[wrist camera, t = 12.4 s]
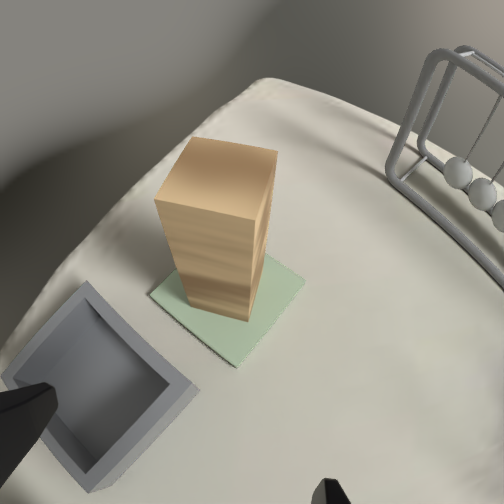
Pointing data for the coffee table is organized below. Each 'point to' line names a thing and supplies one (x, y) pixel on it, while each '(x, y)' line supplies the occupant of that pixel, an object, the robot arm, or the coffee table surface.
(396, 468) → the coffee table surface
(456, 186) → the newton's cradle
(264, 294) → the sage mat
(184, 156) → the oak post
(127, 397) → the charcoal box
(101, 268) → the coffee table surface
